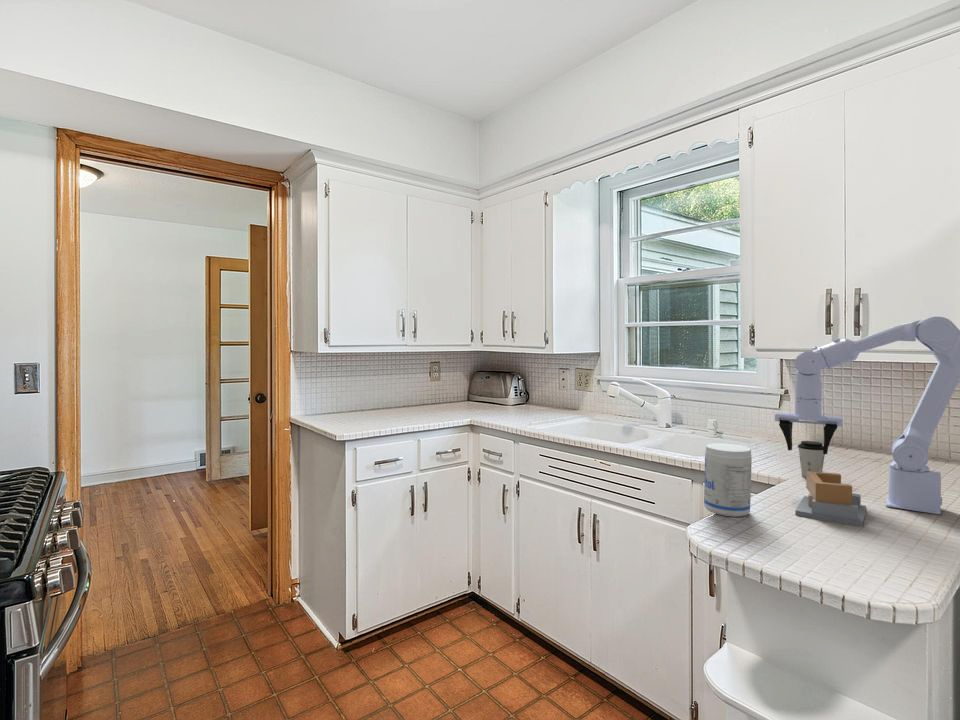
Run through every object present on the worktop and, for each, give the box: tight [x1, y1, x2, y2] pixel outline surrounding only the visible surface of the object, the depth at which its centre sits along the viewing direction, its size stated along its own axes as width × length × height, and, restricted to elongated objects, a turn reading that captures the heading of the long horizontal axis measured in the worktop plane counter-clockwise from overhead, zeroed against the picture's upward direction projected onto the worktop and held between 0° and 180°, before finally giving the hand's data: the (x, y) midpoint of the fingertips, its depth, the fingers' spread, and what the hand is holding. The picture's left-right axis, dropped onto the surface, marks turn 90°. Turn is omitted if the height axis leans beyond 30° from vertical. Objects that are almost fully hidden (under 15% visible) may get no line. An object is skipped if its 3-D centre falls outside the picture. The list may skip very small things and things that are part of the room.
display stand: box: [795, 492, 867, 528], centre depth 116 cm, size 12×14×4 cm
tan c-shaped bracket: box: [805, 471, 853, 505], centre depth 117 cm, size 7×12×4 cm, turn 156°
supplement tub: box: [703, 442, 753, 518], centre depth 117 cm, size 10×10×15 cm
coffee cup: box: [797, 440, 826, 479], centre depth 147 cm, size 7×7×10 cm
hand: (807, 451), depth 132 cm, fingers open, 7 cm apart
